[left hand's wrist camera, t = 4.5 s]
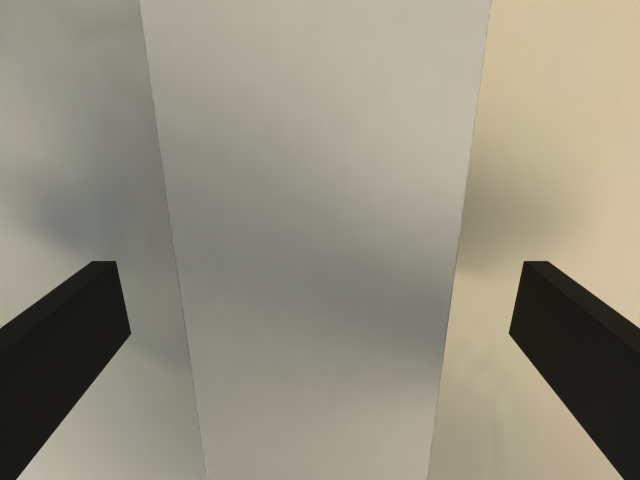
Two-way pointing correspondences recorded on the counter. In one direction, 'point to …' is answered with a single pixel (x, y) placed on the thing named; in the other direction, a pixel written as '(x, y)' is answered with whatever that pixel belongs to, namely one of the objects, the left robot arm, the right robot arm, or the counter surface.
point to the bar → (315, 221)
